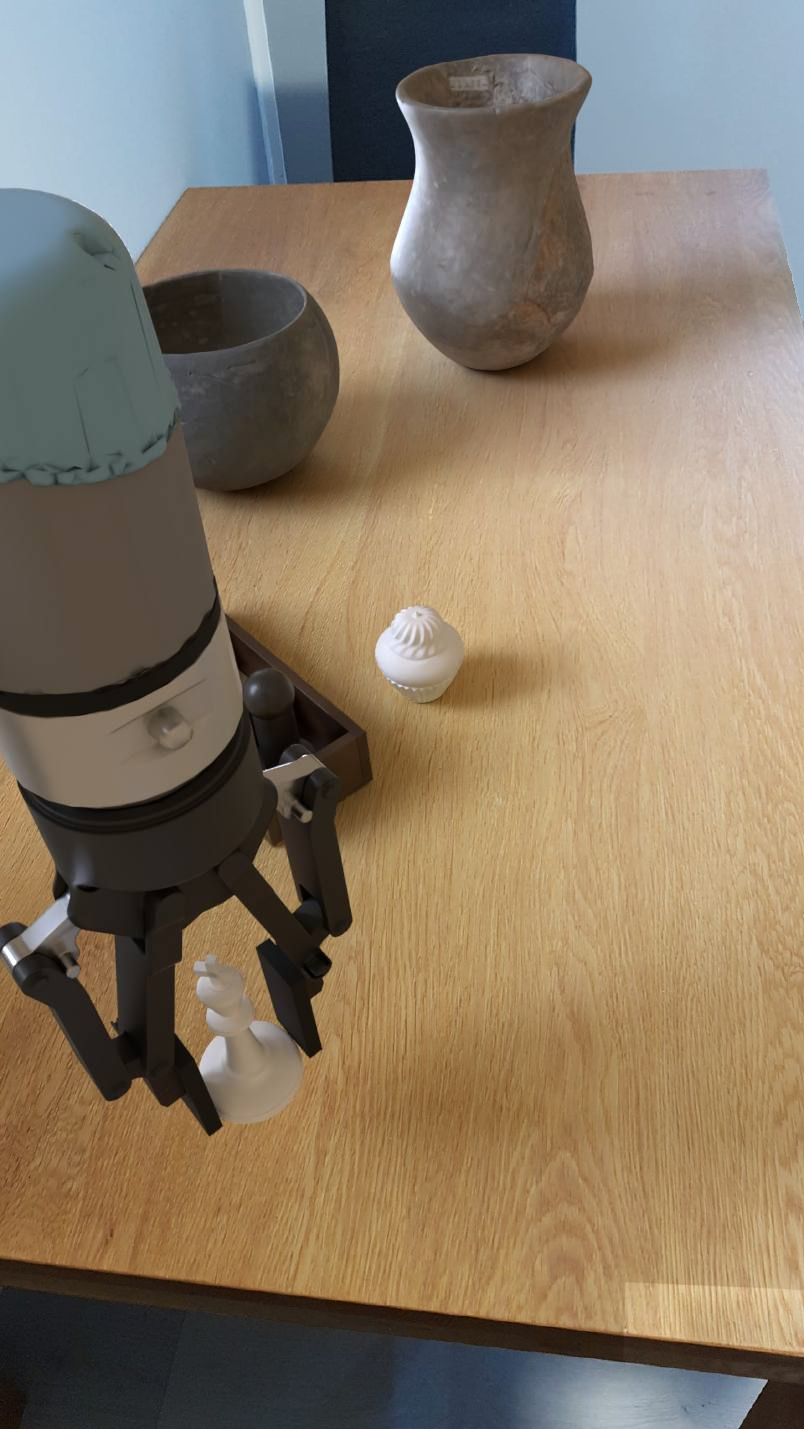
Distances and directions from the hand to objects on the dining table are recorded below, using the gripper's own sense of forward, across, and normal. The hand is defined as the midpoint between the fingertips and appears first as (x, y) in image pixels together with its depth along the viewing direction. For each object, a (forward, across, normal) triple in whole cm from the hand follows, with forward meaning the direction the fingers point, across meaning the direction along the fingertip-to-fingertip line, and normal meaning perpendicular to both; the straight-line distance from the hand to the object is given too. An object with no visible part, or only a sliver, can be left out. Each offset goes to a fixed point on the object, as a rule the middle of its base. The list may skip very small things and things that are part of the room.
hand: (250, 1070), depth 50 cm
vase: (+6, +63, +51) cm, 81 cm away
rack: (+6, +14, +26) cm, 30 cm away
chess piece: (+1, 0, 0) cm, 1 cm away
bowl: (+6, +33, +53) cm, 63 cm away
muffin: (+6, +26, +19) cm, 33 cm away
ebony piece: (+5, +14, +18) cm, 24 cm away
